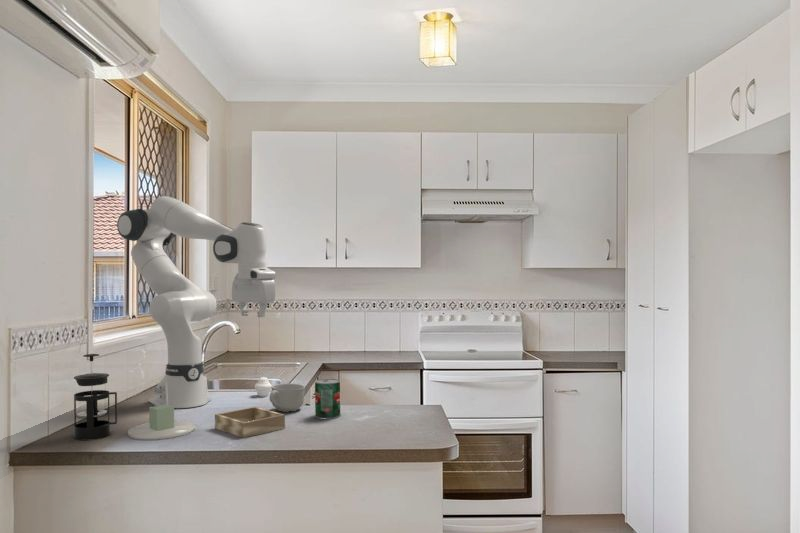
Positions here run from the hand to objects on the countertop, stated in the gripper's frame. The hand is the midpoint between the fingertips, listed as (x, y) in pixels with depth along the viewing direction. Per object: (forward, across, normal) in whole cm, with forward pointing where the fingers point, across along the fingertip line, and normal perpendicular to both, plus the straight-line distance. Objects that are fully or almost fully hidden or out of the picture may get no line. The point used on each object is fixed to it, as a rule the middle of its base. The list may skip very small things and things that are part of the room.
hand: (252, 316), depth 205 cm
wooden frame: (+31, +15, -11) cm, 36 cm away
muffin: (+31, -22, +18) cm, 42 cm away
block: (+30, -1, -30) cm, 42 cm away
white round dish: (+31, -1, -30) cm, 43 cm away
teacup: (+31, +4, +9) cm, 33 cm away
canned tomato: (+31, +20, +14) cm, 40 cm away
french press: (+31, -11, -45) cm, 56 cm away
